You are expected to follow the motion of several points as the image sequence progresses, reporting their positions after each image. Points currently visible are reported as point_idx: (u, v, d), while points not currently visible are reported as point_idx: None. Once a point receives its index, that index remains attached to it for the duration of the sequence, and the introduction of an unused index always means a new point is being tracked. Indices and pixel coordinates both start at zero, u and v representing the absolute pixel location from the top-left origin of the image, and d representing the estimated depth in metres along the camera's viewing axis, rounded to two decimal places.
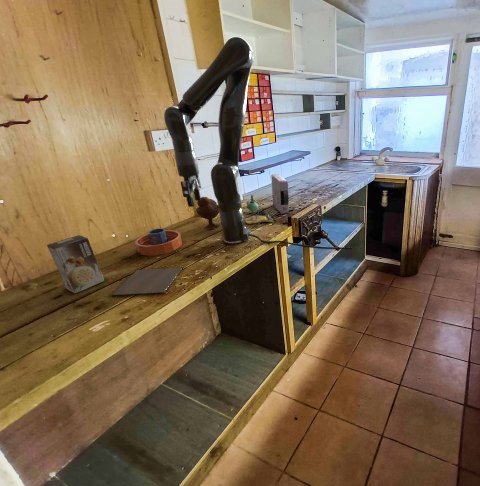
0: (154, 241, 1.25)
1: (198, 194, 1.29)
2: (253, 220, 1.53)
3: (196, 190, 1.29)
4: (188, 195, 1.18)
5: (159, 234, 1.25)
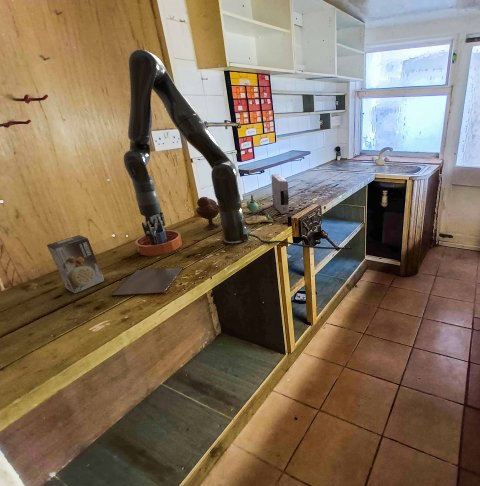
0: None
1: None
2: (253, 220, 1.53)
3: None
4: (150, 235, 1.21)
5: (159, 234, 1.25)
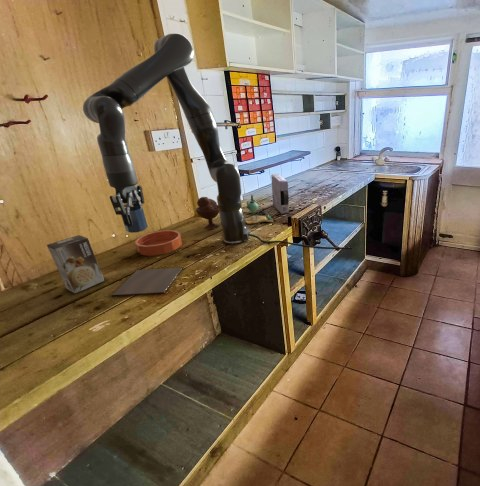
0: None
1: None
2: (253, 220, 1.53)
3: None
4: (122, 212, 0.93)
5: (134, 212, 0.97)
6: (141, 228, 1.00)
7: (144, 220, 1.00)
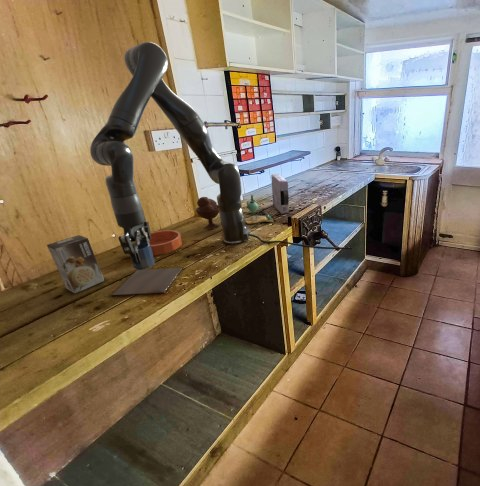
0: None
1: None
2: (253, 220, 1.53)
3: None
4: (130, 252, 0.93)
5: (142, 250, 0.98)
6: (149, 265, 1.00)
7: (151, 256, 1.01)
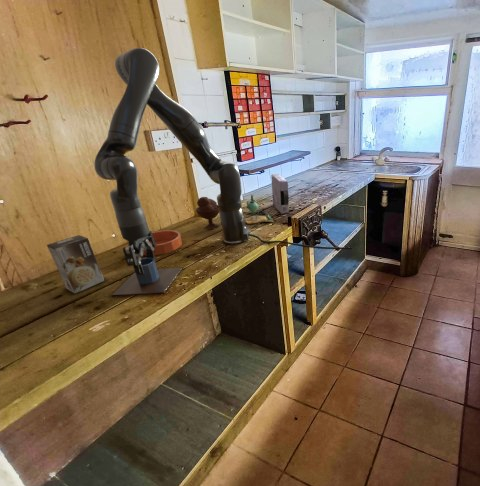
0: (141, 275, 1.00)
1: (151, 255, 1.05)
2: (253, 220, 1.53)
3: (149, 250, 1.05)
4: (134, 263, 0.94)
5: (147, 266, 1.00)
6: (153, 280, 1.03)
7: (156, 272, 1.03)
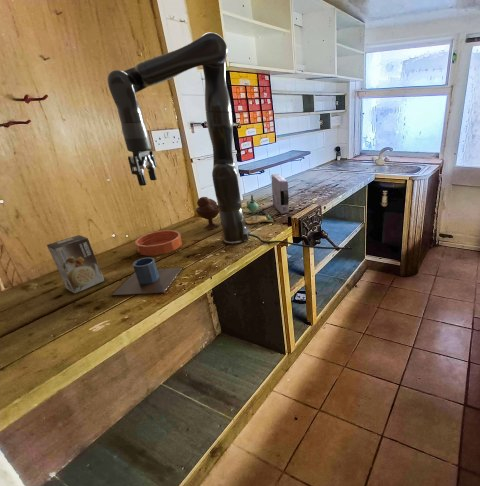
0: (141, 275, 1.00)
1: (153, 173, 1.17)
2: (253, 220, 1.53)
3: (151, 168, 1.17)
4: (137, 172, 1.06)
5: (147, 266, 1.00)
6: (153, 280, 1.03)
7: (156, 272, 1.03)
